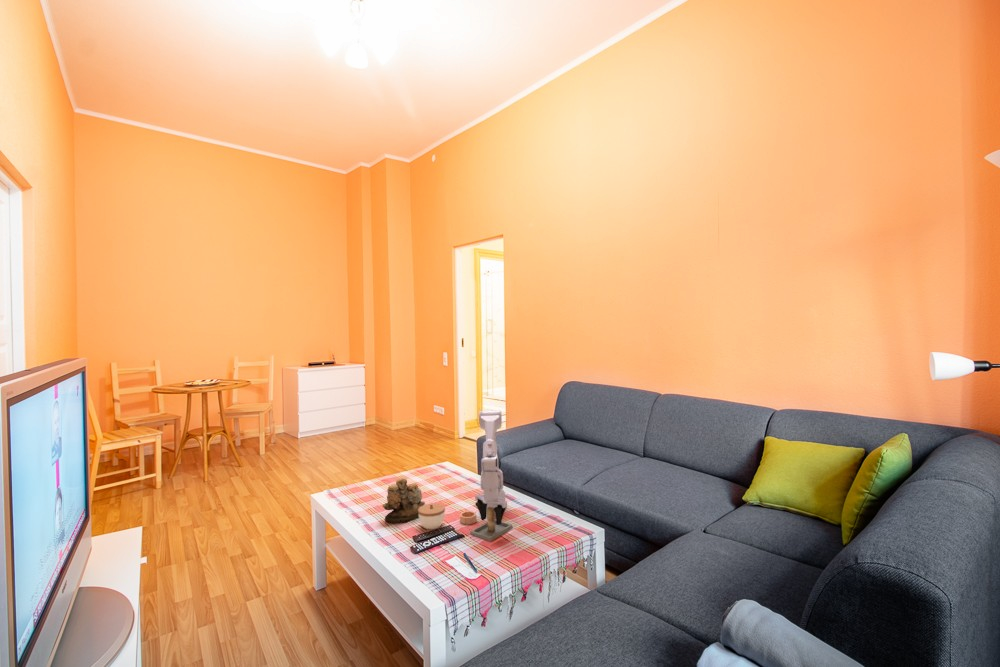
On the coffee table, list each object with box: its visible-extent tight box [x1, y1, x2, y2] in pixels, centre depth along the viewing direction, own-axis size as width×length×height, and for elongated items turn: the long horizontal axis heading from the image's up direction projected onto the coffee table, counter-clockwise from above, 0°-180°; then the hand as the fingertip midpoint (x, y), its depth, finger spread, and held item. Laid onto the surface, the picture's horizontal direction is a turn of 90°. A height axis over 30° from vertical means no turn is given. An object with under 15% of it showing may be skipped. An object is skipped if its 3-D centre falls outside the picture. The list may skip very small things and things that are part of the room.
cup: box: [459, 510, 477, 525], centre depth 193 cm, size 7×7×3 cm
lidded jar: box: [418, 502, 446, 530], centre depth 189 cm, size 11×11×9 cm
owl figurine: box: [382, 477, 426, 525], centre depth 200 cm, size 18×12×17 cm, turn 119°
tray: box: [469, 519, 513, 542], centre depth 183 cm, size 14×10×2 cm
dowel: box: [486, 507, 496, 533], centre depth 183 cm, size 3×3×9 cm
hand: (491, 521), depth 183 cm, fingers open, 7 cm apart
